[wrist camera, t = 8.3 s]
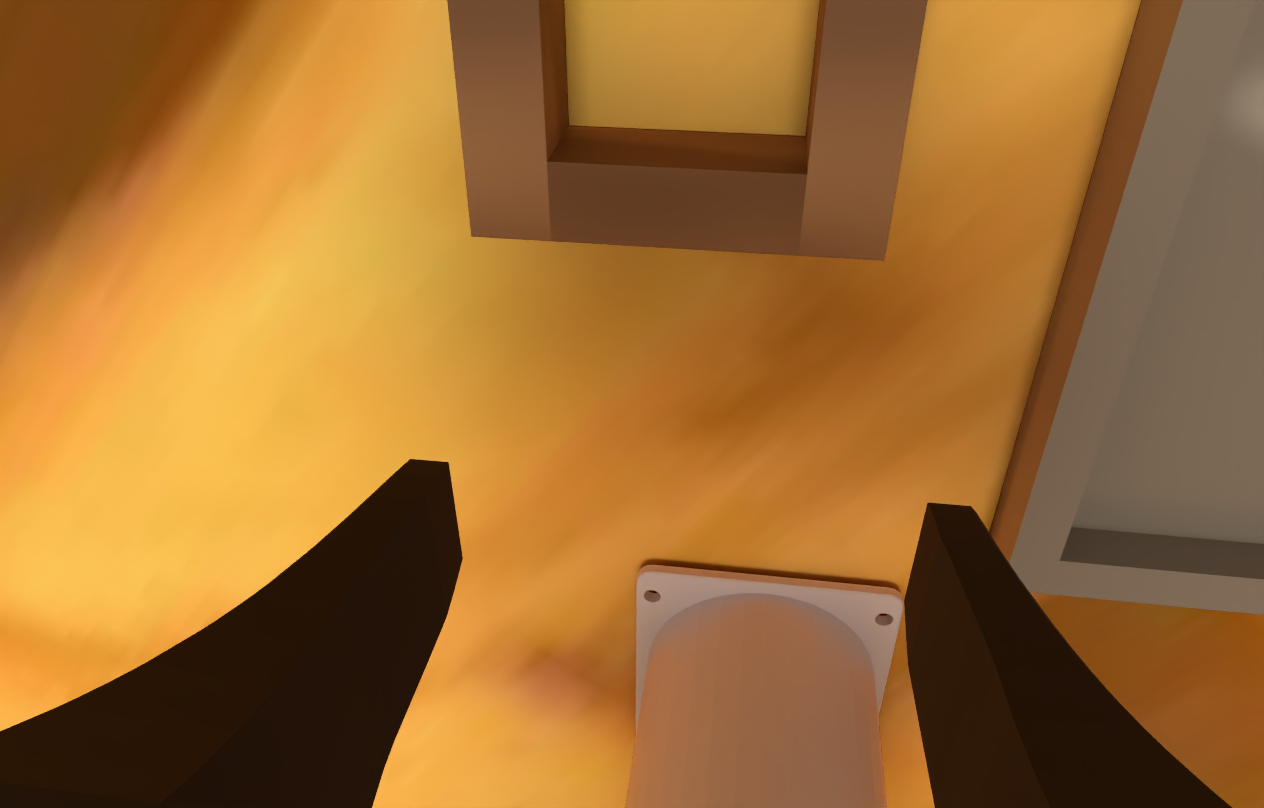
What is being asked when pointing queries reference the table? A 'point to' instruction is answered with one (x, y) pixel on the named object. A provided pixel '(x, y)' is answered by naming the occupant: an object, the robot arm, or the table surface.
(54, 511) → the table surface
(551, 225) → the socket block
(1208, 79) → the tray
